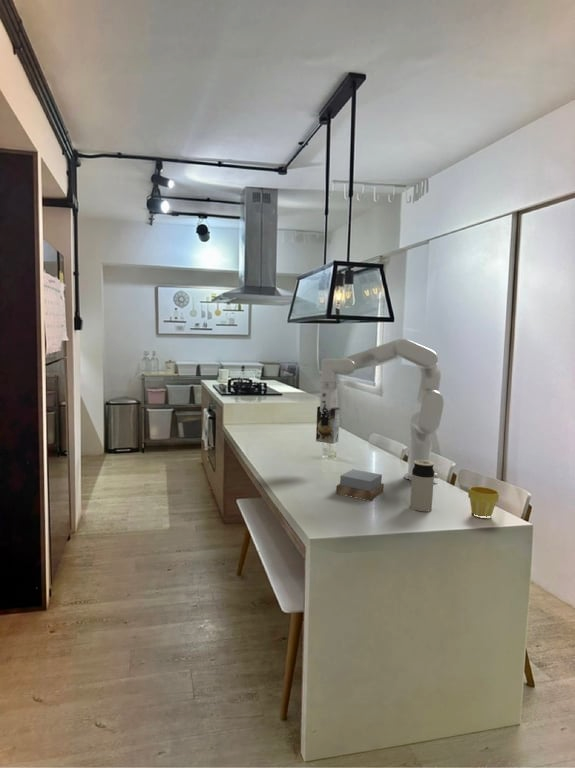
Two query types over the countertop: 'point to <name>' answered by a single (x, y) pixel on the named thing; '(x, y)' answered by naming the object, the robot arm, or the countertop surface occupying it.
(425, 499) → the travel mug
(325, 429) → the coffee box
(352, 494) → the tower base walnut
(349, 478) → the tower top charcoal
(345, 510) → the countertop surface
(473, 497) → the plant pot
